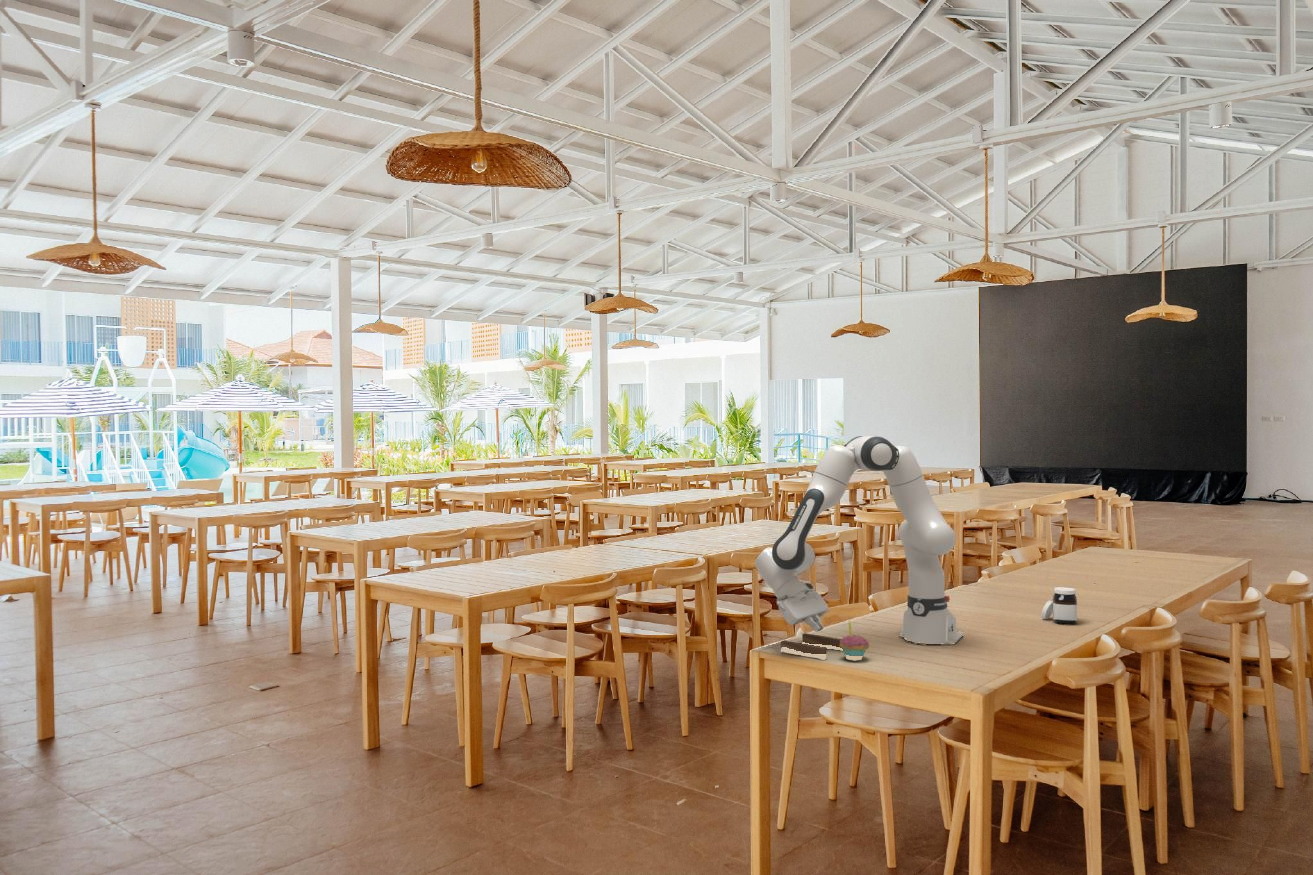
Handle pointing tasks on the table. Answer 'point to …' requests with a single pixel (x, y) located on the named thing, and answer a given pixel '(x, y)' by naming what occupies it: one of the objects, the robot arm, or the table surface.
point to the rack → (812, 640)
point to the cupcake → (853, 644)
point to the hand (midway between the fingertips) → (820, 629)
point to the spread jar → (1062, 606)
